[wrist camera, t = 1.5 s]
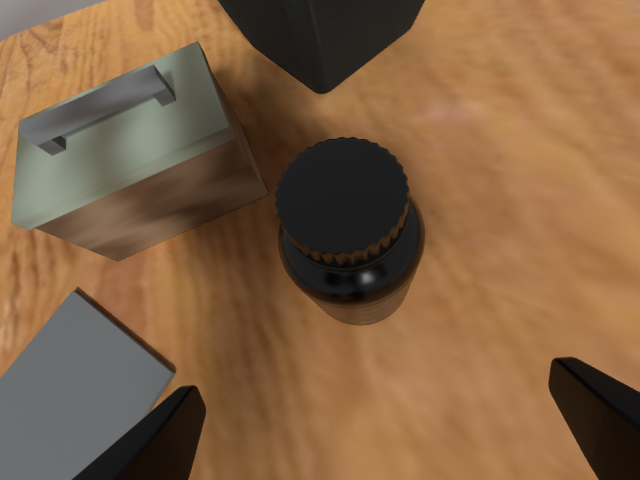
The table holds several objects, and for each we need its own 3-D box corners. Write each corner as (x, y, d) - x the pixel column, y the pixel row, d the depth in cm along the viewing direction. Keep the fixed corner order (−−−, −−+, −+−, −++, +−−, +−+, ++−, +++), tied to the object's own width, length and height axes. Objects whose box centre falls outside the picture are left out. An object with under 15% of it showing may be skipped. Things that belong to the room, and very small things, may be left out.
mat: (49, 560, 18) (42, 564, 18) (-40, 433, 22) (-47, 434, 22) (175, 372, 21) (172, 373, 21) (77, 291, 25) (73, 290, 25)
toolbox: (241, 119, 29) (181, 9, 20) (270, 195, 25) (212, 99, 16) (107, 179, 29) (-13, 95, 20) (115, 264, 25) (-30, 207, 16)
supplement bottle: (308, 241, 23) (248, 129, 12) (398, 228, 22) (419, 96, 11) (315, 333, 20) (244, 295, 9) (417, 323, 19) (470, 268, 9)
